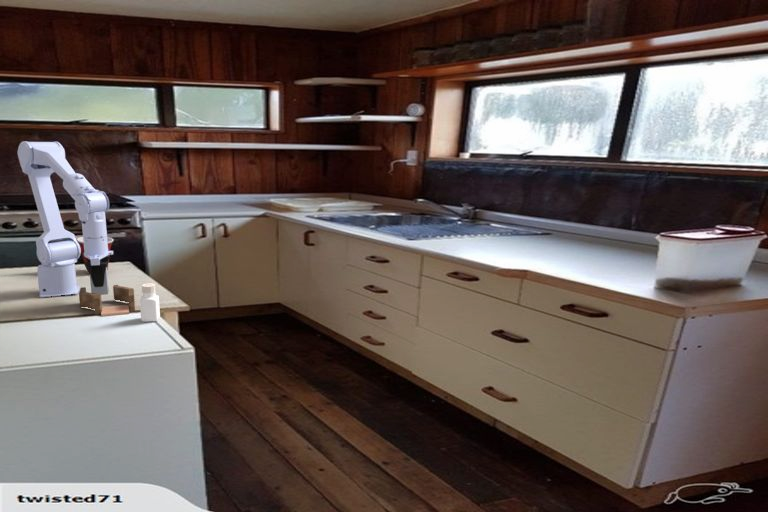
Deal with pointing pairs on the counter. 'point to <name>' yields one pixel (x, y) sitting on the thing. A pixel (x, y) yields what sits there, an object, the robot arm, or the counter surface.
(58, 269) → the robot arm
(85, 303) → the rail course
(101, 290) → the slate block
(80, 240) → the plastic cup
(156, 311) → the pepper shaker
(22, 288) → the counter surface
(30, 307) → the counter surface
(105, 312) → the coaster
